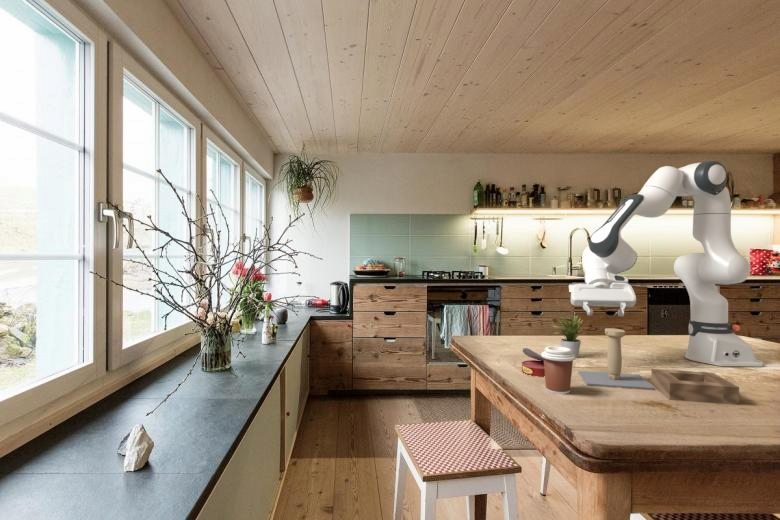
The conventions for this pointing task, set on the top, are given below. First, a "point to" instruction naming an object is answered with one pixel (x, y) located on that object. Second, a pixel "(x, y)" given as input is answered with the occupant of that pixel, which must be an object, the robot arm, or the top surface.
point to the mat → (624, 380)
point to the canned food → (533, 364)
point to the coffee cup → (558, 368)
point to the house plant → (570, 334)
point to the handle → (614, 352)
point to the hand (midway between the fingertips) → (605, 314)
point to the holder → (695, 386)
